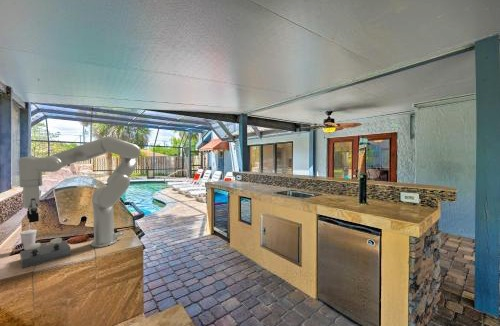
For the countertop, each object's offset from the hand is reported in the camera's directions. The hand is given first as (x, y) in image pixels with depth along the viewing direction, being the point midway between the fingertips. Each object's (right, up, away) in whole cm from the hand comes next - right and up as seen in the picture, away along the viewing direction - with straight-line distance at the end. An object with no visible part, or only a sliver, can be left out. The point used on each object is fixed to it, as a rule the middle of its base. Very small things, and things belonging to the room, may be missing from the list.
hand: (33, 219), depth 105 cm
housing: (+2, -20, +4) cm, 20 cm away
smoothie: (-14, -19, +12) cm, 27 cm away
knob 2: (+5, -15, +7) cm, 18 cm away
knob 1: (0, -16, +1) cm, 16 cm away
